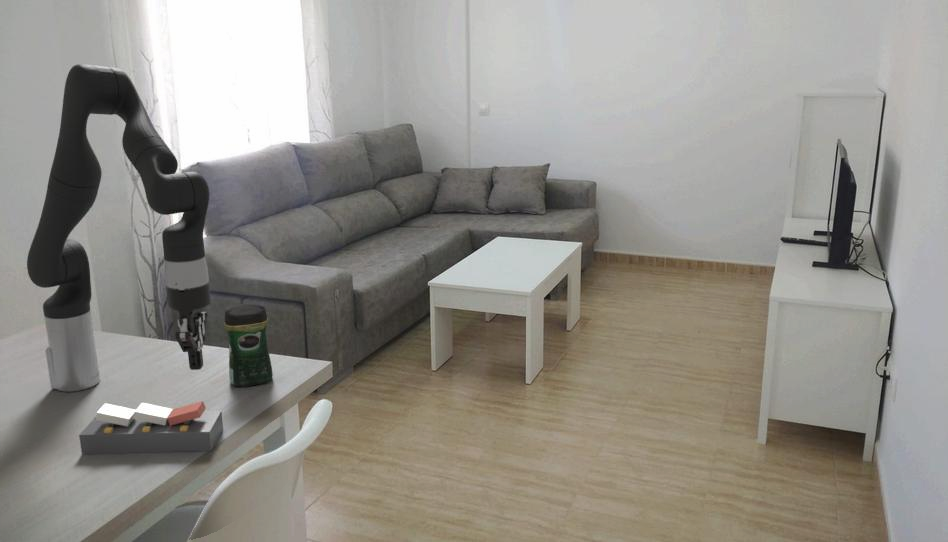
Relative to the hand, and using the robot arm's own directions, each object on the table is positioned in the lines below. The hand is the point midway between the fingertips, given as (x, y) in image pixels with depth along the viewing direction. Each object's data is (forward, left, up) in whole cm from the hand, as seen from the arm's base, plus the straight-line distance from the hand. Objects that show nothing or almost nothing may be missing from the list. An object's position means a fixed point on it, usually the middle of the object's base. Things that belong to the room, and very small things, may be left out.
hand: (196, 368), depth 148 cm
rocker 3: (-2, 0, -11) cm, 11 cm away
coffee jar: (+3, +29, -15) cm, 32 cm away
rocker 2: (-9, 0, -11) cm, 14 cm away
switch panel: (-9, 0, -15) cm, 18 cm away
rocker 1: (-16, 0, -11) cm, 19 cm away
